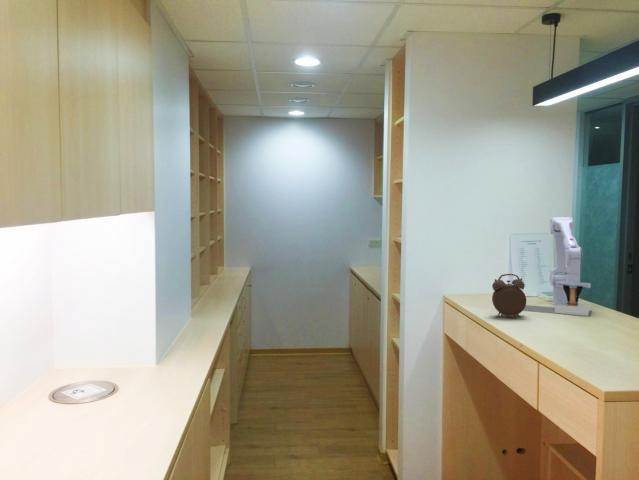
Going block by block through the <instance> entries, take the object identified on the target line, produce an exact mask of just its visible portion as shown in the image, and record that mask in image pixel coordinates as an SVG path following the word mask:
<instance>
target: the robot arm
mask: <svg viewBox="0 0 639 480" xmlns="http://www.w3.org/2000/svg"><path fill="white" fill-rule="evenodd" d="M573 227H574V219H573V217H572V216H567V217H566V216H565V217H564V216H563V217H562V216H560V217H559V216H558V217H556V216H555V217H554V216H551V218H550V220H549V232H550V234H551V235H553V238H554V253H555V254H554V255H555V256H554V258H555V267H554V268H552V269H551V270H550V272H549V284H550V286H552V301H551V303H550V304H551V305H555V304H556V302H557V301H558V300H564V301H567V302H569V288H576V303H578V302H579V299H580V295H581V293H582V290H584V288H587V289H590V288H591V283H589V282H581V260H582V259H583V253H584V251H583V249H582V247H580V246H581V245H578V242H577V238H575V237H574V236H573V233H572V230H573Z"/></svg>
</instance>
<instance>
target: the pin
mask: <svg viewBox="0 0 639 480" xmlns="http://www.w3.org/2000/svg"><path fill="white" fill-rule="evenodd" d="M576 288H577V287H570V288H569V304H572V305H576Z"/></svg>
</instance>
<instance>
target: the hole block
mask: <svg viewBox="0 0 639 480" xmlns="http://www.w3.org/2000/svg"><path fill="white" fill-rule="evenodd" d="M554 307H555V313H558V314H557V315H563V314H569V315H568V316H574V315H581V316H580V317H585V316H588V315H589V312H590V310H591V302H587V301H578V303H576V305H572V304H569V302H567V301H564V300H558V301H557V302H556V304H554Z"/></svg>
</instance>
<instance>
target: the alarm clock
mask: <svg viewBox="0 0 639 480" xmlns="http://www.w3.org/2000/svg"><path fill="white" fill-rule="evenodd" d="M505 276H513V277H514V276H515V277H516V278H517V279H516V278H515V279H514V280H512V281H511V280H506V282H507V283H505V281H503V280H502V277H505ZM510 282H511V284H509V283H510ZM525 285H526V284H525V283H524V281H523V278H520V277H519V276H518V275H517V274H514V273H503V274H501V275H500V276H499V278H497V279H496V278H495V279H494V281H493V283H492V285H491V286H492V289H493V292H492V296H491V300H492V301H491V302H492V304H493V306H494V308H495V310H496V311H497V312H498V314H497V317H499V316H500V317H499V318H502V317H503V316H506V317H515V316H517V317H518V318H520V314H521V313H522V312H524V311H523V310H524V308H525V306H526V305H527V296H526V293H524V288H525Z"/></svg>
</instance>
